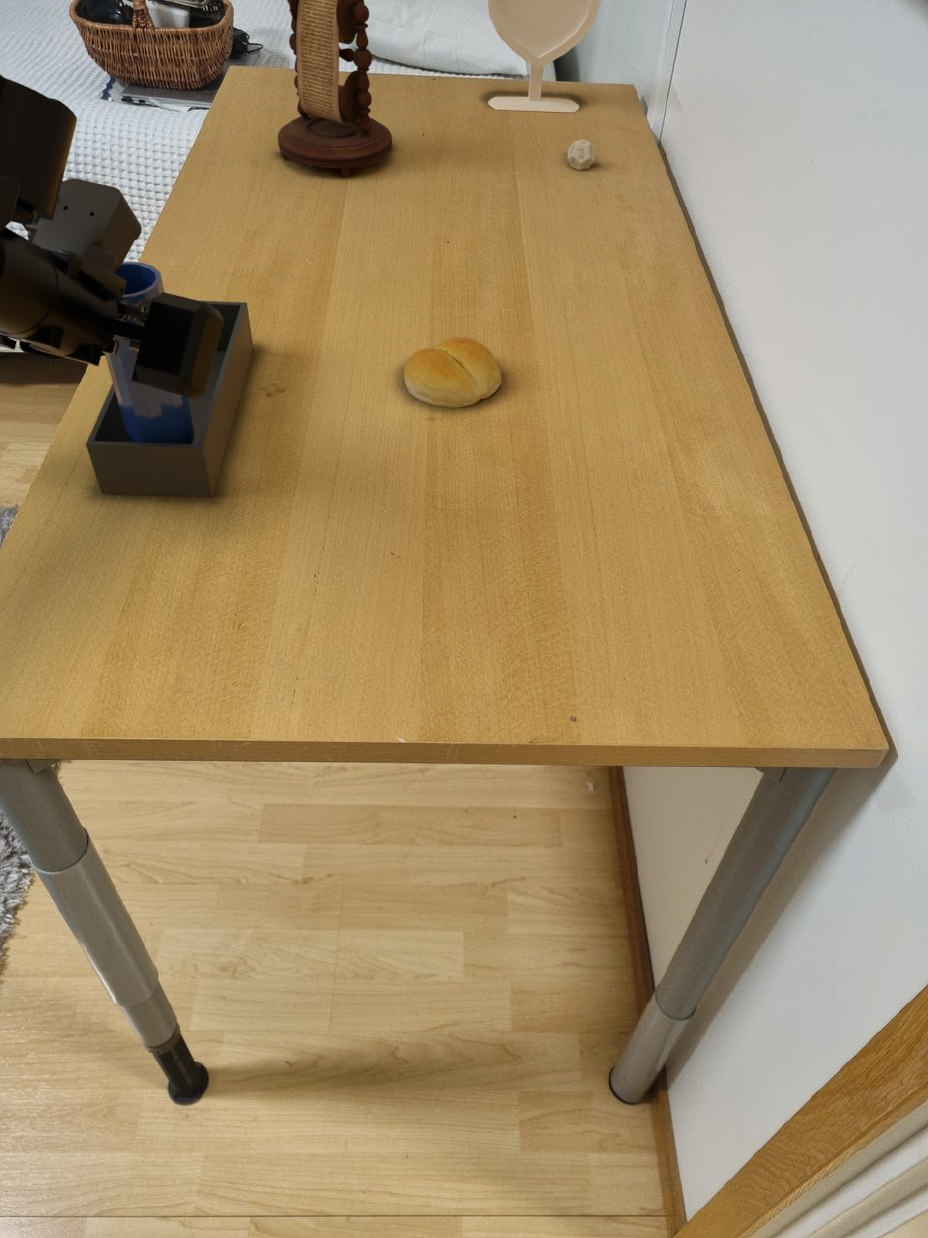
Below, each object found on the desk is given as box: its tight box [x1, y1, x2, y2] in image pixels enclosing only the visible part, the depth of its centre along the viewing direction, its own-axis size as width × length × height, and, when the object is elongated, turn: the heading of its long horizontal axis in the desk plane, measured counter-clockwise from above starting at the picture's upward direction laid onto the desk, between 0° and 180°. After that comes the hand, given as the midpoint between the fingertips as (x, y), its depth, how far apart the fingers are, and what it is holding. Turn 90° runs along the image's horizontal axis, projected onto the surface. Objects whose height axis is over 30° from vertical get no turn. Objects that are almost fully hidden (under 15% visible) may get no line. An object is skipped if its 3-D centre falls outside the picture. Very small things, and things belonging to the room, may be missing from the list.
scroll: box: [277, 0, 393, 178], centre depth 115 cm, size 15×15×20 cm
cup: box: [104, 261, 195, 444], centre depth 72 cm, size 5×5×14 cm
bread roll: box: [403, 336, 502, 409], centre depth 87 cm, size 8×9×4 cm
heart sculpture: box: [487, 0, 602, 114], centre depth 131 cm, size 16×5×18 cm, turn 91°
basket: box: [85, 300, 255, 498], centre depth 82 cm, size 22×9×6 cm, turn 0°
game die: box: [567, 139, 596, 171], centre depth 123 cm, size 4×4×3 cm
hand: (154, 354), depth 73 cm, fingers closed on cup, 5 cm apart
